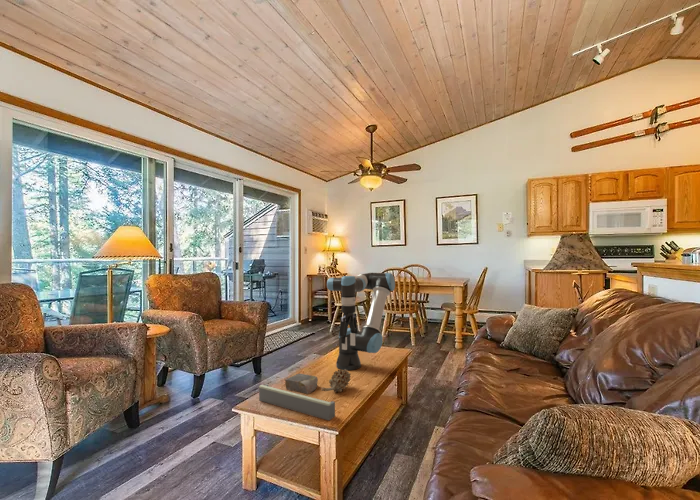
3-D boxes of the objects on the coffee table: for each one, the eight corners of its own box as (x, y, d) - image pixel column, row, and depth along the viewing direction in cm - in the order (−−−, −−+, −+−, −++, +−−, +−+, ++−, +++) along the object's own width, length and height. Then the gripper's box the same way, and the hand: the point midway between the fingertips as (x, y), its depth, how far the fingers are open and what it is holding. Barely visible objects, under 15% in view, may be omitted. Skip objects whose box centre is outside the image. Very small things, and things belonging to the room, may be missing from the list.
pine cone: (338, 383, 176) (338, 364, 176) (354, 386, 171) (354, 367, 171) (315, 399, 156) (315, 378, 156) (333, 403, 152) (333, 381, 152)
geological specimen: (296, 372, 179) (320, 375, 172) (297, 384, 178) (320, 387, 172) (284, 378, 169) (308, 382, 162) (284, 390, 169) (308, 394, 162)
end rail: (266, 396, 159) (266, 382, 159) (334, 415, 140) (334, 399, 140) (259, 400, 155) (258, 386, 155) (328, 420, 136) (328, 404, 136)
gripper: (344, 308, 165) (344, 353, 164) (363, 302, 183) (363, 343, 183) (331, 307, 168) (332, 351, 168) (352, 301, 187) (352, 341, 186)
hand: (348, 347), depth 175 cm, fingers open, 8 cm apart
